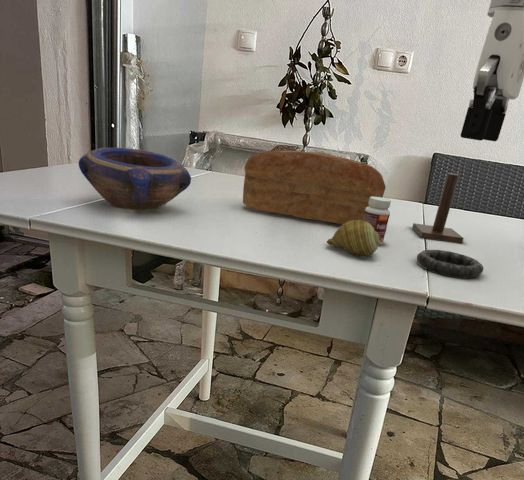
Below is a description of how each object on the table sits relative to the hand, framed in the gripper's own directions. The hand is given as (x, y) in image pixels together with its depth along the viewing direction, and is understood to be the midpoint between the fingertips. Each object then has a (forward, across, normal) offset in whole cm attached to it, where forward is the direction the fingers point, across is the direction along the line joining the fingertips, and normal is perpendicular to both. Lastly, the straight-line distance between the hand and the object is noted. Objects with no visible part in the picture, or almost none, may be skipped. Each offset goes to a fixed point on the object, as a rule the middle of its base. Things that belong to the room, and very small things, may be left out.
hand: (479, 139), depth 76 cm
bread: (+21, +15, +35) cm, 44 cm away
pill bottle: (+21, +8, +16) cm, 28 cm away
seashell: (+21, -3, +15) cm, 26 cm away
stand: (+21, +30, +10) cm, 38 cm away
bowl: (+21, -15, +57) cm, 63 cm away
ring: (+20, +4, 0) cm, 21 cm away
